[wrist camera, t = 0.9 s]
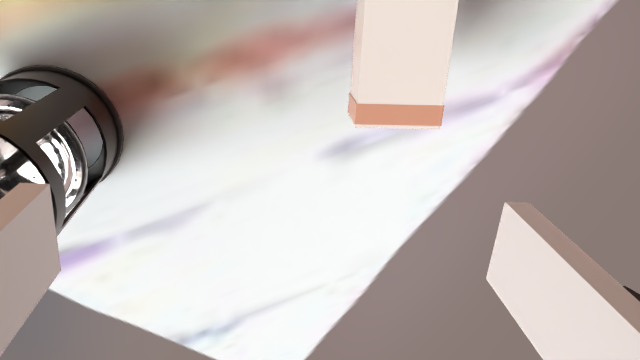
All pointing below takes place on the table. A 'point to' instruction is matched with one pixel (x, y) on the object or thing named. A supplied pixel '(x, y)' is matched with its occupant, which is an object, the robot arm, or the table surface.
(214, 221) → the table surface
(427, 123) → the cream rectangular bar
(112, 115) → the french press
